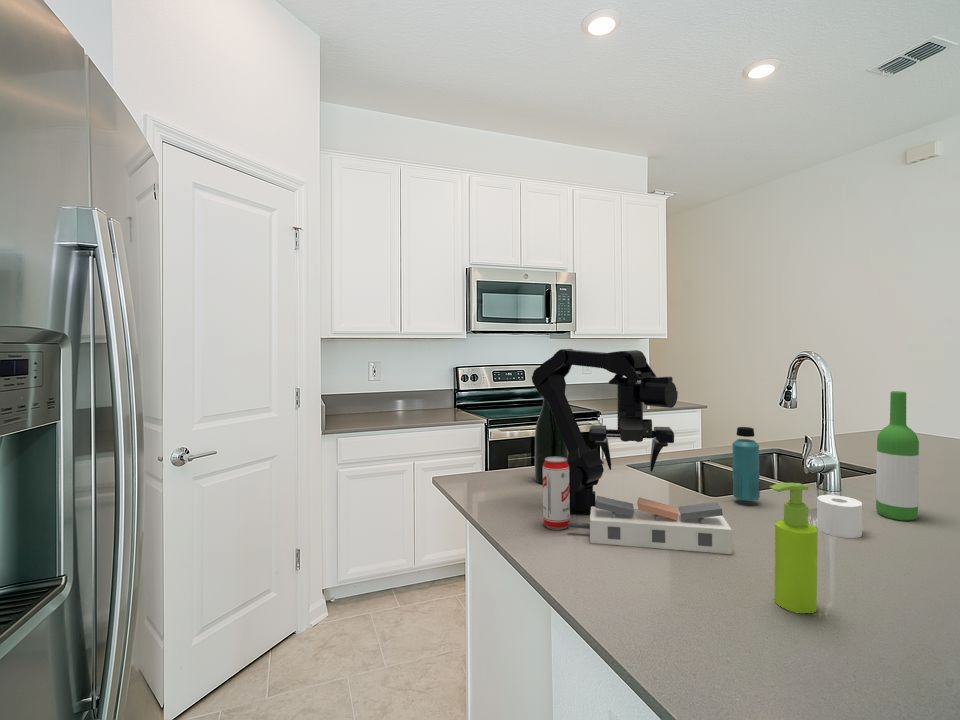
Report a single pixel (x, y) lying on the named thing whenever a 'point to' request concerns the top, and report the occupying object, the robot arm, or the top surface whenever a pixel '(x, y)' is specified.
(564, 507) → the beer can
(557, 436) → the beer bottle
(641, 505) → the rocker
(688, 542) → the power strip
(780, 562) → the soap dispenser
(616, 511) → the rocker
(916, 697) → the top surface
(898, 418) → the wine bottle
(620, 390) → the robot arm
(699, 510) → the rocker
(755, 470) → the beverage bottle
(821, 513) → the toilet paper
